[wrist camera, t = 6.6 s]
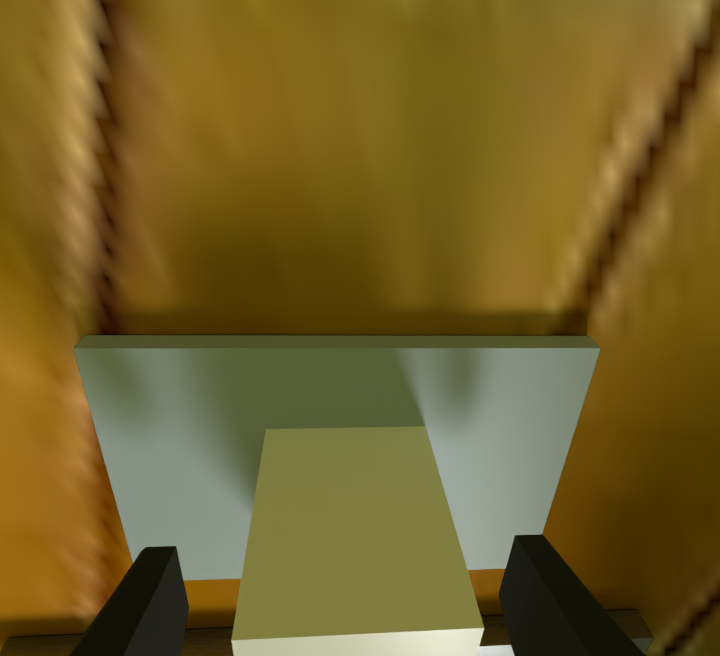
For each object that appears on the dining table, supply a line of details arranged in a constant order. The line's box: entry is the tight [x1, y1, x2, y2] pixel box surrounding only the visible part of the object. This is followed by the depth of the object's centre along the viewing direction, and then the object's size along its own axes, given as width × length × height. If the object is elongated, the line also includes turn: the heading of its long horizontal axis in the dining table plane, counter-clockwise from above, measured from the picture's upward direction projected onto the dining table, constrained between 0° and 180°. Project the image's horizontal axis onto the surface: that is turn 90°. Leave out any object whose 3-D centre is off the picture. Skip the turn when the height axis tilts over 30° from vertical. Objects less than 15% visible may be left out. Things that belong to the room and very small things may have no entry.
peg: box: [231, 426, 484, 656], centre depth 11 cm, size 4×4×5 cm
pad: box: [73, 335, 601, 580], centre depth 13 cm, size 12×8×1 cm, turn 88°
